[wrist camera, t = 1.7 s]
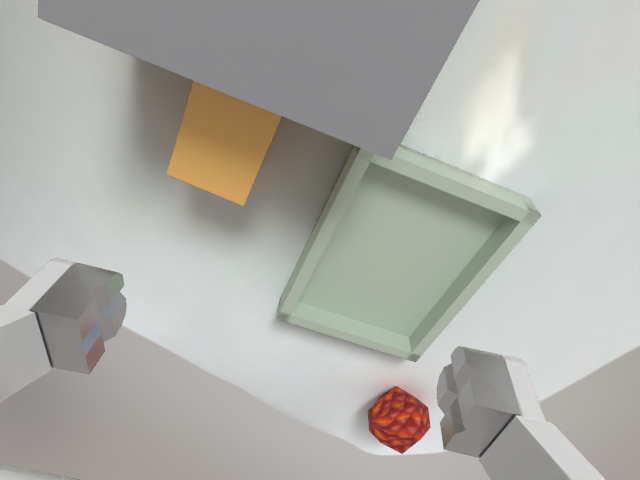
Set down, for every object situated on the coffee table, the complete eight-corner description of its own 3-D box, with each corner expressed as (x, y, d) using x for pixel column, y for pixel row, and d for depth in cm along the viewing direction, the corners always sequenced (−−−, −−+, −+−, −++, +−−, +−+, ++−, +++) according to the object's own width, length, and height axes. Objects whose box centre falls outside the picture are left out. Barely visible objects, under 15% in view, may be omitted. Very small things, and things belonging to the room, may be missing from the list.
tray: (279, 299, 40) (276, 319, 38) (361, 128, 30) (363, 143, 28) (412, 341, 42) (415, 362, 40) (529, 197, 32) (541, 215, 30)
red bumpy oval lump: (396, 397, 52) (344, 402, 47) (434, 377, 47) (380, 380, 43) (415, 453, 48) (360, 464, 44) (457, 437, 44) (402, 446, 40)
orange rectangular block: (191, 145, 31) (163, 184, 26) (250, -43, 24) (226, -38, 19) (255, 173, 32) (239, 215, 27) (329, 0, 25) (325, 16, 20)
